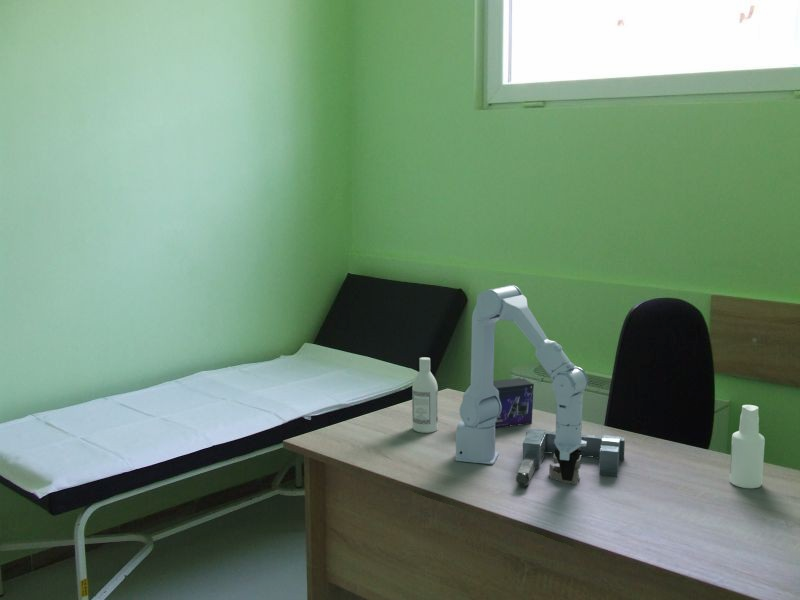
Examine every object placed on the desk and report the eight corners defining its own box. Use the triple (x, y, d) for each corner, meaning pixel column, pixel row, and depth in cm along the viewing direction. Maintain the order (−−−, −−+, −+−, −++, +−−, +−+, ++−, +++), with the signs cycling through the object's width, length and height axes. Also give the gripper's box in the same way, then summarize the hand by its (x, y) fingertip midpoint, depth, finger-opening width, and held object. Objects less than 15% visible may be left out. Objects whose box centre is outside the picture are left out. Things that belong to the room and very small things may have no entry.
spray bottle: (760, 479, 189) (765, 403, 186) (762, 490, 183) (768, 412, 180) (728, 475, 192) (733, 401, 188) (729, 487, 185) (734, 410, 182)
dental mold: (591, 479, 191) (591, 459, 190) (568, 486, 187) (569, 465, 186) (566, 469, 197) (567, 449, 196) (545, 475, 194) (545, 455, 193)
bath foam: (427, 423, 231) (426, 354, 228) (443, 429, 226) (442, 358, 222) (407, 428, 227) (406, 358, 223) (423, 435, 222) (422, 362, 218)
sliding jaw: (512, 488, 185) (512, 463, 184) (529, 451, 208) (529, 428, 207) (530, 490, 184) (531, 465, 183) (545, 452, 207) (546, 429, 206)
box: (478, 431, 224) (479, 389, 222) (468, 424, 230) (468, 383, 228) (533, 423, 230) (534, 382, 228) (521, 416, 236) (522, 376, 234)
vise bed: (518, 466, 199) (518, 439, 198) (527, 448, 211) (527, 422, 210) (621, 476, 192) (622, 449, 190) (624, 457, 204) (625, 431, 203)
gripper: (583, 434, 177) (582, 493, 179) (590, 413, 190) (588, 469, 193) (550, 431, 179) (549, 490, 181) (559, 411, 192) (557, 466, 195)
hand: (567, 479), depth 187 cm, fingers closed
